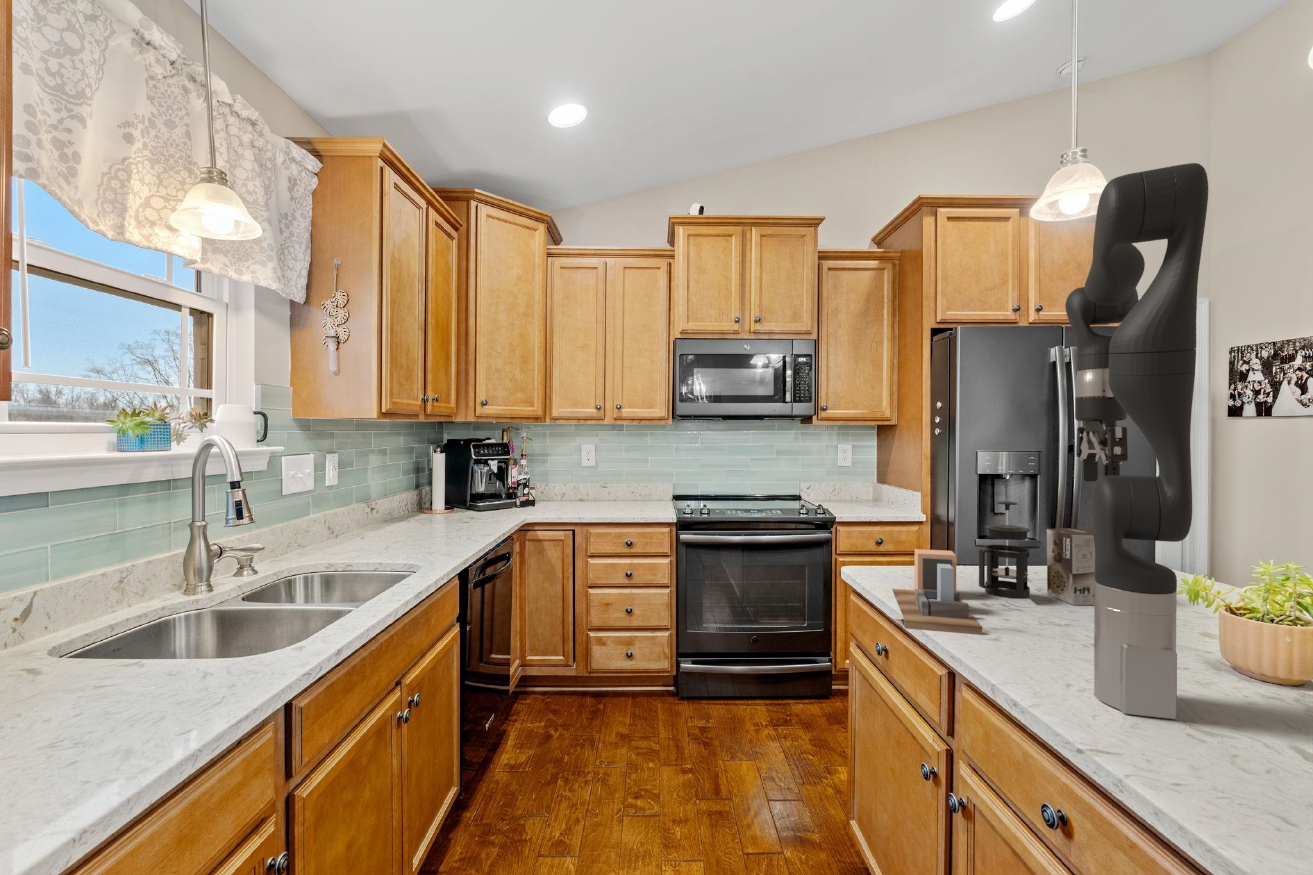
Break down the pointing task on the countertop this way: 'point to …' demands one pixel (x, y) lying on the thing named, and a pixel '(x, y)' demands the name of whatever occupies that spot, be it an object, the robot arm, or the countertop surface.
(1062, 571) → the coffee box
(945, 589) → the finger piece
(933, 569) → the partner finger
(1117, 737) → the countertop surface
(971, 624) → the rail
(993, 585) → the french press
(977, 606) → the countertop surface
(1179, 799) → the countertop surface
